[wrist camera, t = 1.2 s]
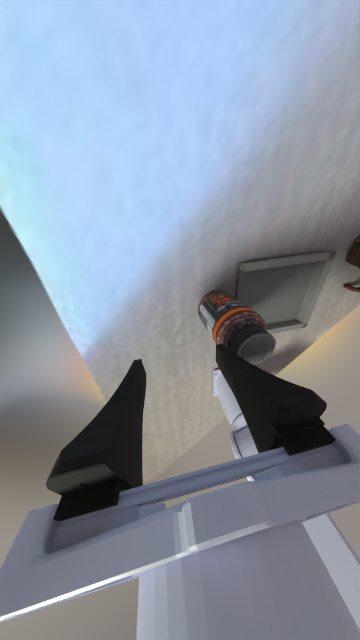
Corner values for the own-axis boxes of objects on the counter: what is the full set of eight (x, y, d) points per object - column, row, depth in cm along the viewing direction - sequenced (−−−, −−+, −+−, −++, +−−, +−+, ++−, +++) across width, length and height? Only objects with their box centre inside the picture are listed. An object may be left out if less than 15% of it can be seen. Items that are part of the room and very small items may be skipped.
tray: (297, 322, 27) (306, 327, 26) (232, 334, 26) (237, 340, 25) (322, 251, 21) (336, 251, 20) (239, 263, 20) (246, 264, 18)
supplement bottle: (230, 285, 21) (293, 316, 12) (231, 317, 24) (282, 364, 14) (194, 294, 21) (227, 334, 11) (199, 326, 24) (229, 379, 14)
